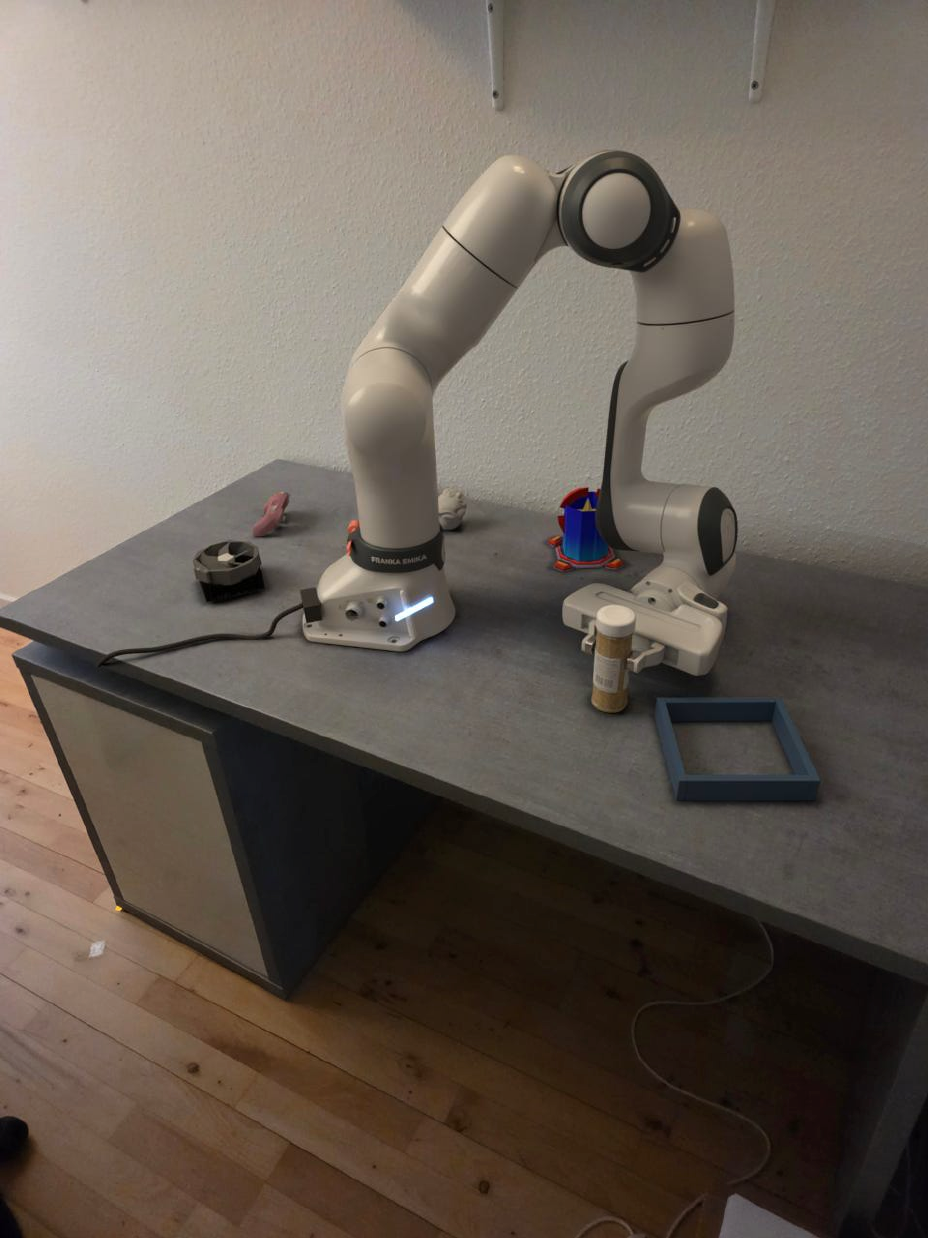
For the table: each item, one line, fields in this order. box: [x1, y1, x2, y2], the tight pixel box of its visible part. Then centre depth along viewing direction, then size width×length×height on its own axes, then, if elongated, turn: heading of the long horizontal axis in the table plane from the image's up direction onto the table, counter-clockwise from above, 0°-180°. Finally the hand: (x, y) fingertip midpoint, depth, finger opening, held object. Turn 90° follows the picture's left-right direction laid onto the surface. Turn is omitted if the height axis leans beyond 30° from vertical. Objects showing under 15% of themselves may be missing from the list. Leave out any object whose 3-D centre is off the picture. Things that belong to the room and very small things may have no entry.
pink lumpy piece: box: [251, 490, 291, 537], centre depth 142 cm, size 10×5×7 cm, turn 179°
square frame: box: [654, 696, 821, 801], centre depth 90 cm, size 15×14×3 cm
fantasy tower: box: [546, 486, 626, 574], centre depth 128 cm, size 12×12×12 cm
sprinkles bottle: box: [590, 605, 636, 714], centre depth 96 cm, size 5×5×13 cm
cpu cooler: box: [192, 539, 266, 604], centre depth 125 cm, size 10×6×10 cm
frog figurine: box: [438, 488, 468, 531], centre depth 139 cm, size 6×7×7 cm
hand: (608, 657), depth 95 cm, fingers open, 5 cm apart
